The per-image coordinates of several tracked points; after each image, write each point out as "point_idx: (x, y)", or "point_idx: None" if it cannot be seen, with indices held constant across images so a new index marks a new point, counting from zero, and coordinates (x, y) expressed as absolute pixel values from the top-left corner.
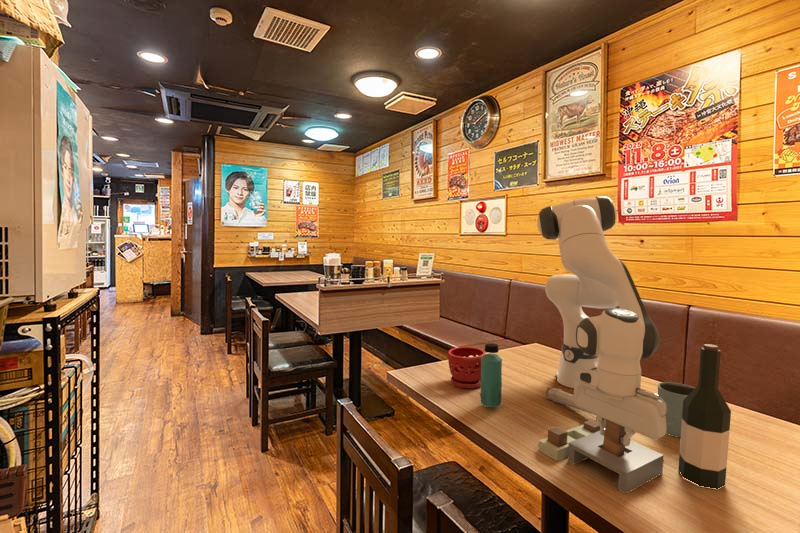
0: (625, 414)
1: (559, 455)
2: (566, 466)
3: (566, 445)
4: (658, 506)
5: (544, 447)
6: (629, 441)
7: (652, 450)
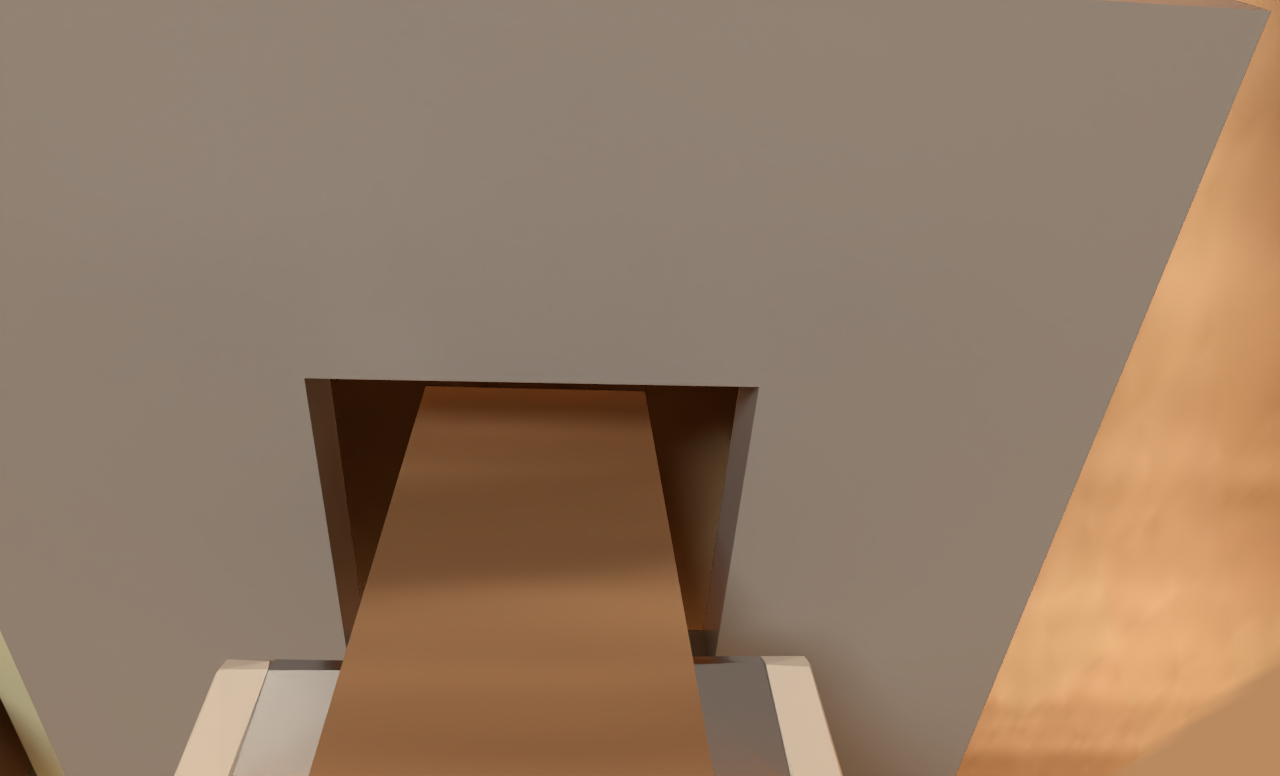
0: None
1: None
2: None
3: (24, 704)
4: (1123, 579)
5: None
6: (816, 718)
7: (1037, 19)
